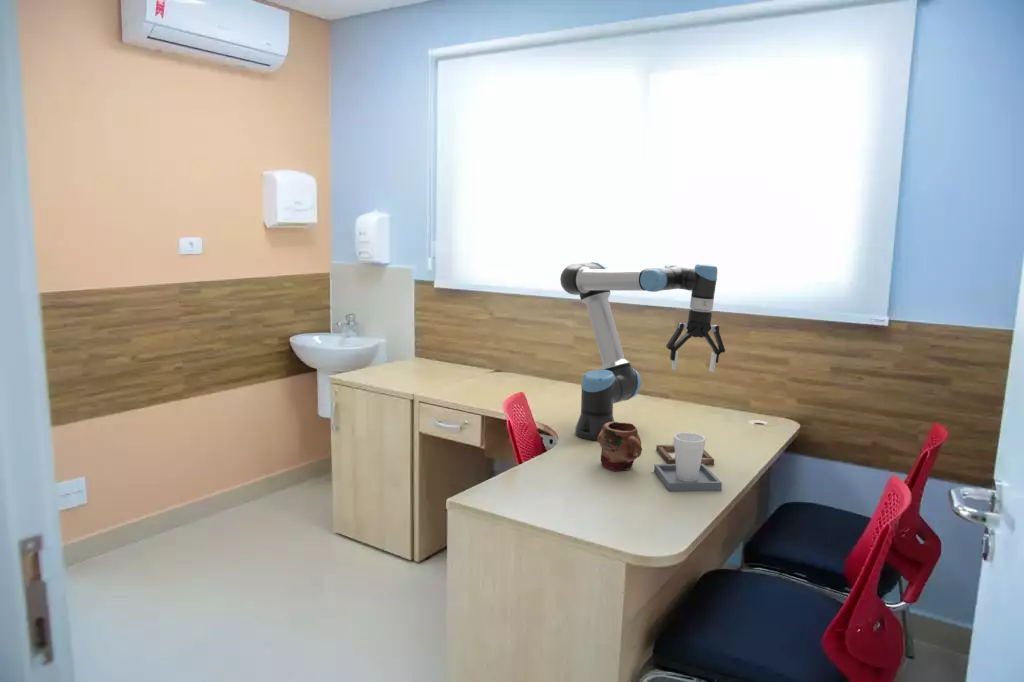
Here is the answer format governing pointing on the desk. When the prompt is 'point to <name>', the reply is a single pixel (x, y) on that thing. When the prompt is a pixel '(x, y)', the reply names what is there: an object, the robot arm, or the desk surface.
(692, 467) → the foam cup
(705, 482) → the charcoal tray
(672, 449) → the walnut collar
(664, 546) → the desk surface
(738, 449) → the desk surface
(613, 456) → the sculpted ceramic mug
